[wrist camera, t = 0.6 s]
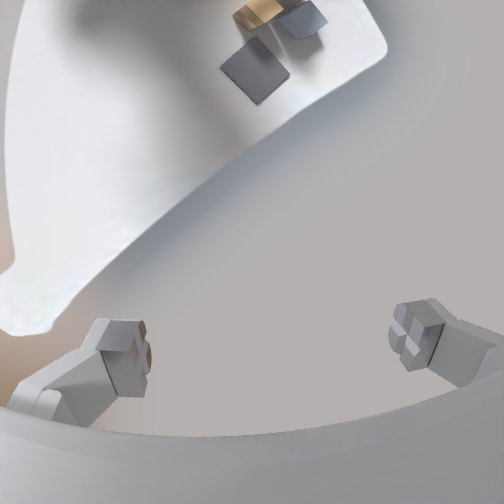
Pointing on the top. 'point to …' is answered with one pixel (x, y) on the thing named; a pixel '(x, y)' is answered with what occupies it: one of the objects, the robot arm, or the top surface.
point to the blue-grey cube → (303, 20)
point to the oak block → (257, 13)
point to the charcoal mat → (255, 70)
